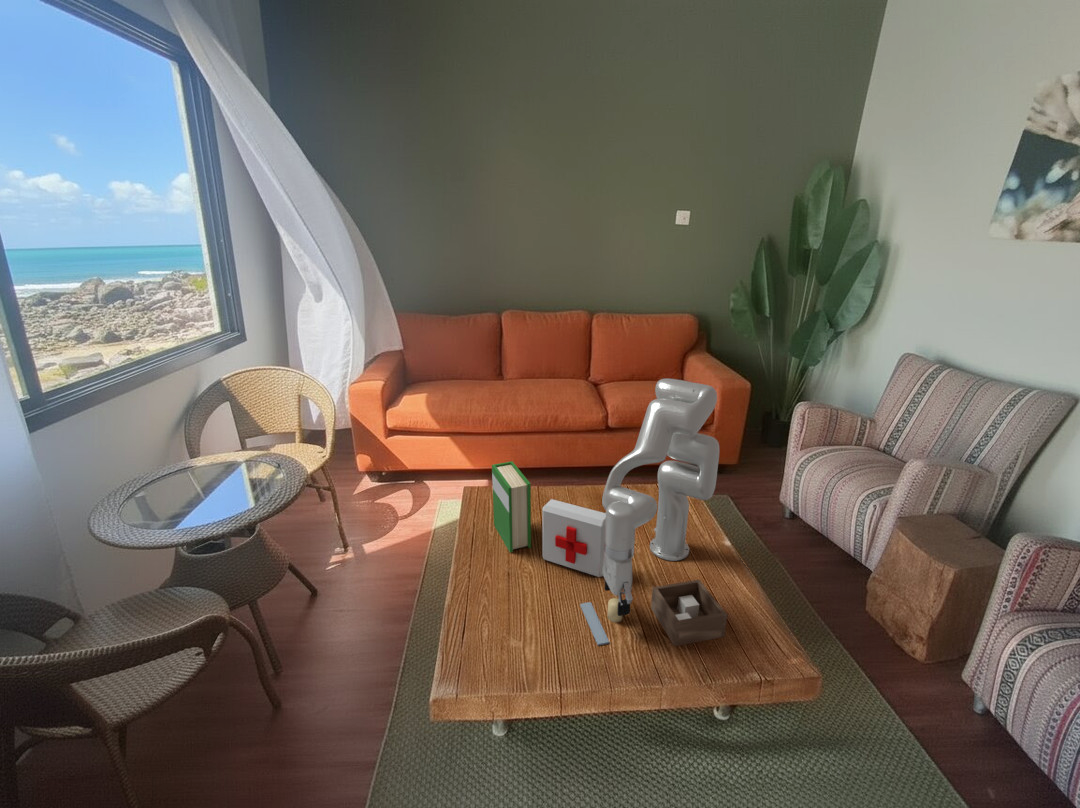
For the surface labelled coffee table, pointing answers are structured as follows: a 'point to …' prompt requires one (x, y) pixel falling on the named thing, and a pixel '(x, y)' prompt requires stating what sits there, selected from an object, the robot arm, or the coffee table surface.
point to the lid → (595, 623)
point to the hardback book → (511, 505)
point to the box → (690, 629)
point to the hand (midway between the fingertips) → (616, 601)
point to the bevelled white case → (573, 536)
